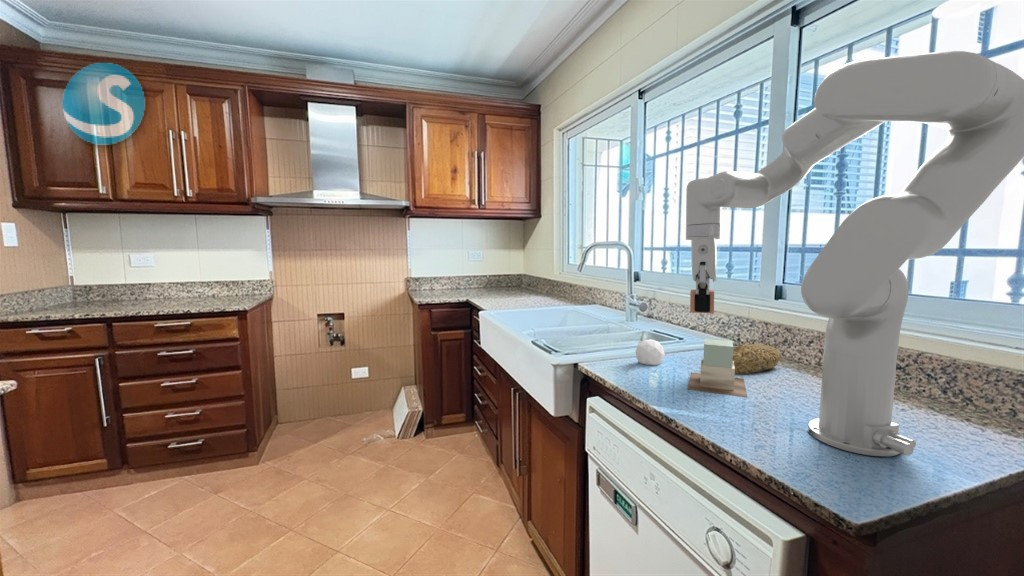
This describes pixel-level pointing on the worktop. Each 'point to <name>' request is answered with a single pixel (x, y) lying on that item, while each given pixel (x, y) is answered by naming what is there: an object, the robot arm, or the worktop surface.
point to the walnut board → (738, 388)
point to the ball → (650, 352)
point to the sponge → (754, 358)
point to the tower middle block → (718, 353)
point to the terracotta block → (692, 301)
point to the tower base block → (717, 377)
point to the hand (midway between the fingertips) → (702, 309)
